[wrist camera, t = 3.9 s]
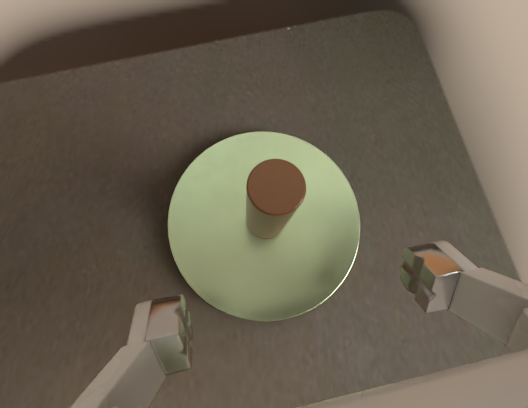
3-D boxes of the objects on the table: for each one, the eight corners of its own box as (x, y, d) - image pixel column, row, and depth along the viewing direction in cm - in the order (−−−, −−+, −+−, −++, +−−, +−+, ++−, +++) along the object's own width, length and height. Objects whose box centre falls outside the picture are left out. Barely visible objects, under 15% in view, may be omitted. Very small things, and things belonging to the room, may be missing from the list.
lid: (303, 114, 22) (333, 27, 14) (387, 266, 19) (475, 256, 12) (144, 179, 20) (85, 118, 12) (216, 355, 18) (196, 408, 10)
